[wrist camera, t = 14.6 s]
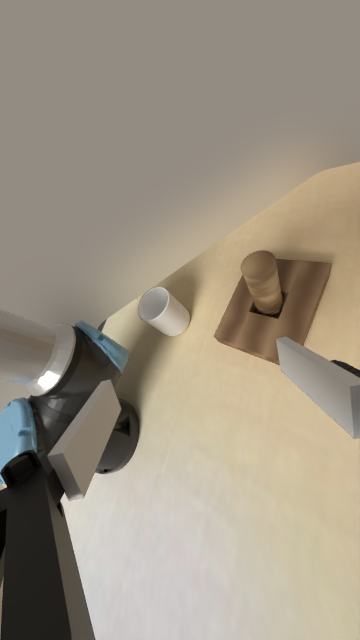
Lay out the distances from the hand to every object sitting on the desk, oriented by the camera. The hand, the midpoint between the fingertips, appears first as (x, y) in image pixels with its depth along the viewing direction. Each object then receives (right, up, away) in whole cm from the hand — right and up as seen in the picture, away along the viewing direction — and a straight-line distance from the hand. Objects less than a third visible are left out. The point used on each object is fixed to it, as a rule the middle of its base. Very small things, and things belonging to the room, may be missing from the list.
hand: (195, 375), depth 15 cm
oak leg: (+18, +6, +26) cm, 32 cm away
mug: (-3, +5, +39) cm, 39 cm away
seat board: (+18, +6, +26) cm, 32 cm away
